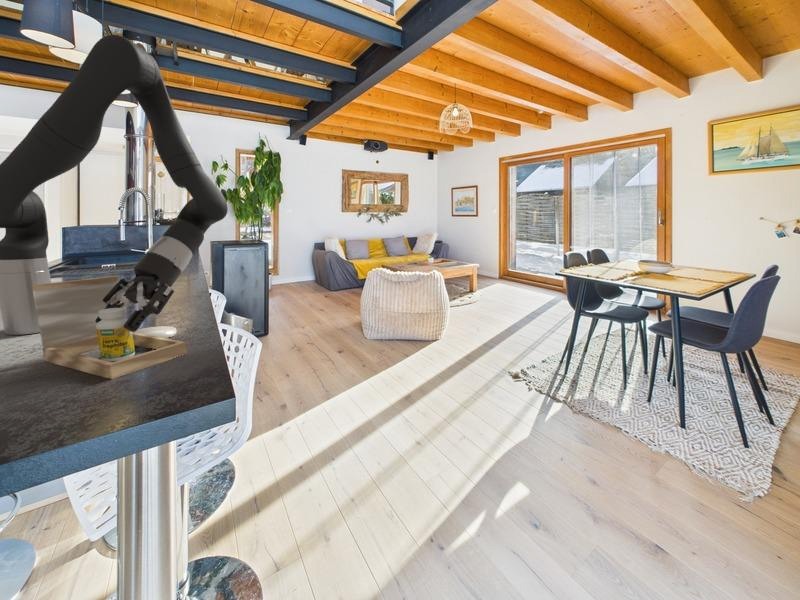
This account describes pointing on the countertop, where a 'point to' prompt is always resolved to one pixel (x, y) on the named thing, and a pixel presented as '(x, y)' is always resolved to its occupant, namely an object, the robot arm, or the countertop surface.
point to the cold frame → (89, 329)
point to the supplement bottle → (114, 335)
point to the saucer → (158, 331)
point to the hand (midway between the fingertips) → (114, 327)
